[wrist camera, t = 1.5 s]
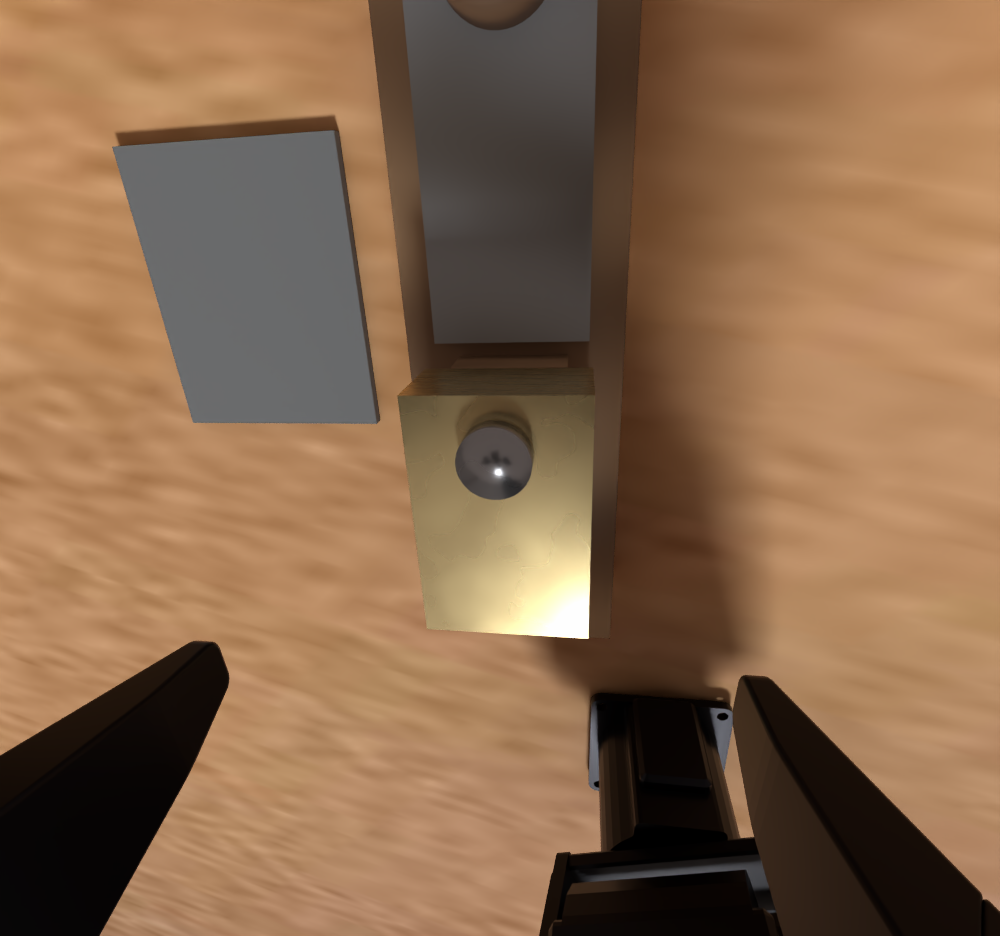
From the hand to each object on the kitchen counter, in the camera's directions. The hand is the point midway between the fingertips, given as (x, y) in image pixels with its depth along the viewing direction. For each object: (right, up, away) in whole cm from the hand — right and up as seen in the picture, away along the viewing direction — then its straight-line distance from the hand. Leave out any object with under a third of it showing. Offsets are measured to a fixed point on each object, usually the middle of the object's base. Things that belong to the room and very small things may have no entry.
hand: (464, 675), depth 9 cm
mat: (-8, +10, +11) cm, 17 cm away
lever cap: (+1, +3, +7) cm, 8 cm away
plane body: (+2, +9, +10) cm, 14 cm away
